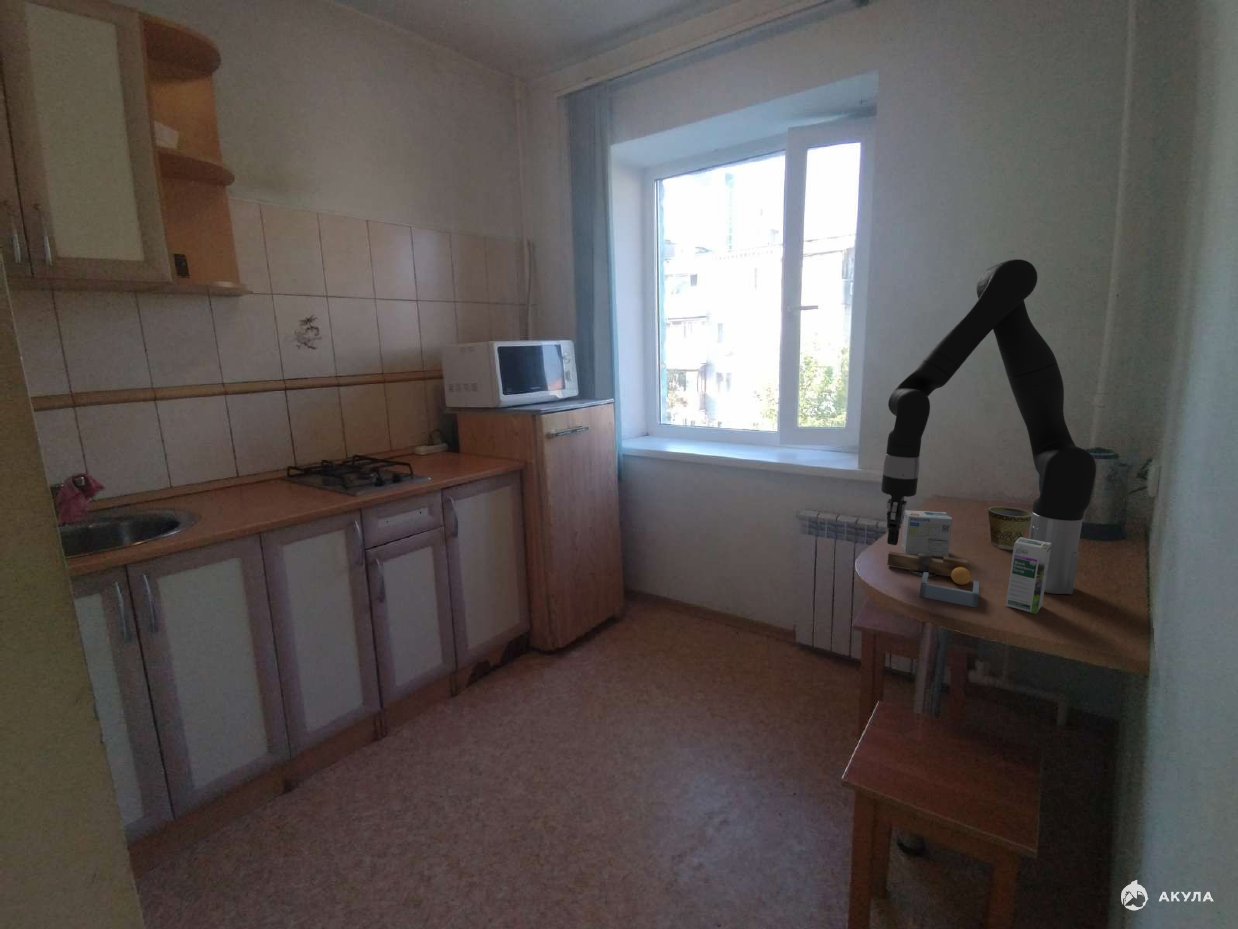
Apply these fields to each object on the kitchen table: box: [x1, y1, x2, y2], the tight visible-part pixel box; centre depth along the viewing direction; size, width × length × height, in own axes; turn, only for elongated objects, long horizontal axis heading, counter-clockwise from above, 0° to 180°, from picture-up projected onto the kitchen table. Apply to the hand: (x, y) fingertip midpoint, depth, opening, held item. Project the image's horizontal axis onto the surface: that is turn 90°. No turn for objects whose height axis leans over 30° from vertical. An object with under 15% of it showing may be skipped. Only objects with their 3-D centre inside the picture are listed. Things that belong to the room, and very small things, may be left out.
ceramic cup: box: [987, 505, 1032, 551], centre depth 161 cm, size 13×10×10 cm
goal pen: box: [919, 572, 980, 609], centre depth 130 cm, size 11×8×3 cm
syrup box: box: [1005, 536, 1051, 615], centre depth 123 cm, size 6×6×14 cm
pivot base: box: [909, 569, 938, 578], centre depth 143 cm, size 6×6×1 cm
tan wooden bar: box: [886, 550, 968, 577], centre depth 142 cm, size 17×3×4 cm, turn 58°
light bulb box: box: [901, 509, 953, 558], centre depth 156 cm, size 11×7×11 cm, turn 74°
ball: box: [950, 567, 972, 586], centre depth 135 cm, size 4×4×4 cm
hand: (892, 543), depth 140 cm, fingers closed
